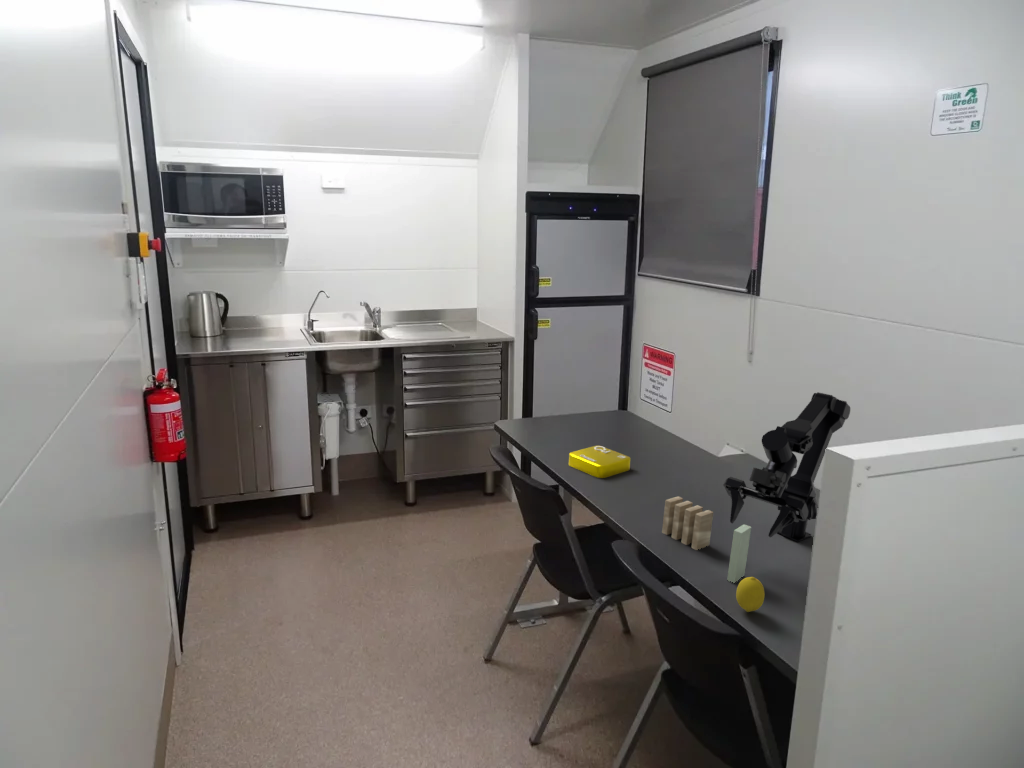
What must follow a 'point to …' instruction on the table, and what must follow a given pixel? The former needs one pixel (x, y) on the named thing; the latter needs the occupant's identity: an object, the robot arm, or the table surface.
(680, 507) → the tile
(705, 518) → the tile
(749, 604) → the lemon
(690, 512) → the tile
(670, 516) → the tile
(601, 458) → the element tile
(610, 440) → the table surface
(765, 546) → the table surface
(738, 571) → the head tile
